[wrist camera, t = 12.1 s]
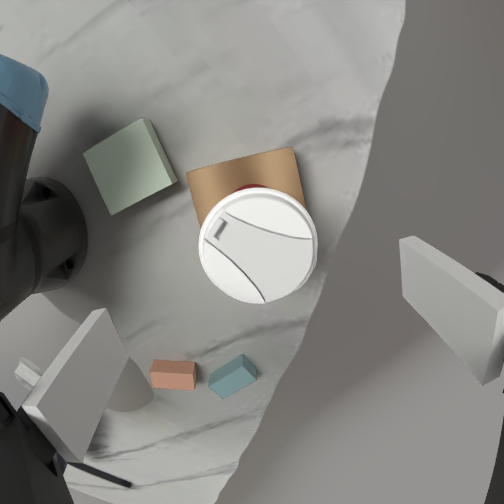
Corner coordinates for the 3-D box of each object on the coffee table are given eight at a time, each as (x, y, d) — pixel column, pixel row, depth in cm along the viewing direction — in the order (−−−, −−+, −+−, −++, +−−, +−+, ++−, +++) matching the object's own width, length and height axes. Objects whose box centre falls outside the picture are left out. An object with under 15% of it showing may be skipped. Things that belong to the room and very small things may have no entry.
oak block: (216, 260, 39) (213, 273, 35) (191, 170, 35) (185, 173, 32) (307, 239, 38) (314, 249, 34) (287, 147, 35) (292, 146, 31)
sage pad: (120, 210, 37) (111, 215, 34) (93, 152, 34) (82, 153, 31) (177, 181, 36) (172, 184, 33) (149, 119, 33) (141, 117, 31)
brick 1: (157, 374, 44) (153, 387, 42) (154, 359, 43) (149, 371, 41) (197, 377, 44) (194, 390, 42) (195, 361, 44) (192, 374, 41)
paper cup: (201, 222, 33) (173, 271, 20) (241, 158, 31) (240, 164, 18) (264, 260, 35) (277, 330, 21) (306, 200, 33) (348, 237, 19)
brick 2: (223, 385, 45) (222, 399, 42) (209, 373, 44) (208, 386, 41) (255, 366, 44) (256, 379, 41) (242, 353, 43) (242, 366, 40)
